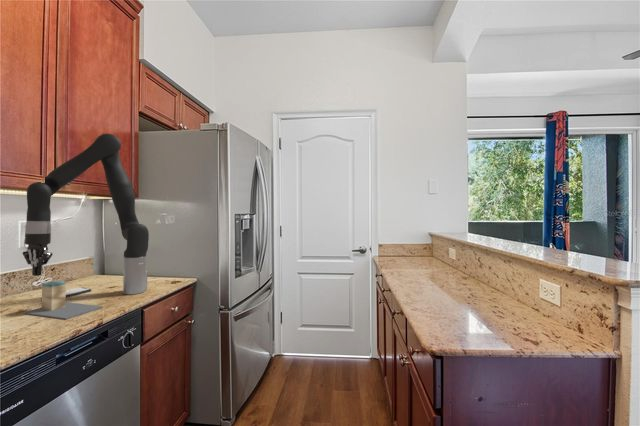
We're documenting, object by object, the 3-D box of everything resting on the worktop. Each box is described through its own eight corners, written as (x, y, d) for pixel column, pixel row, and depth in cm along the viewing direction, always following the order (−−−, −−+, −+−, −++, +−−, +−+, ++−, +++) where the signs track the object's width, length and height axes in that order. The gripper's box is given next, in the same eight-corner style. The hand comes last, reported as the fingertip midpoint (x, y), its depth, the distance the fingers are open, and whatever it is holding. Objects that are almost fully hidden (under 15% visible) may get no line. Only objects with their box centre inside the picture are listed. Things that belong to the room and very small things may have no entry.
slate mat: (63, 302, 124) (63, 301, 124) (103, 307, 120) (103, 306, 120) (22, 313, 111) (22, 312, 111) (66, 319, 106) (66, 318, 106)
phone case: (54, 301, 128) (92, 291, 143) (54, 298, 128) (92, 288, 143) (40, 299, 130) (79, 290, 146) (40, 296, 130) (79, 286, 146)
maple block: (55, 305, 119) (56, 280, 119) (65, 306, 118) (65, 281, 118) (41, 309, 115) (42, 283, 115) (51, 310, 113) (51, 284, 113)
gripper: (61, 232, 121) (59, 274, 120) (36, 231, 124) (35, 272, 123) (40, 233, 113) (38, 278, 113) (14, 232, 116) (13, 276, 116)
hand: (36, 275), depth 118 cm, fingers closed
